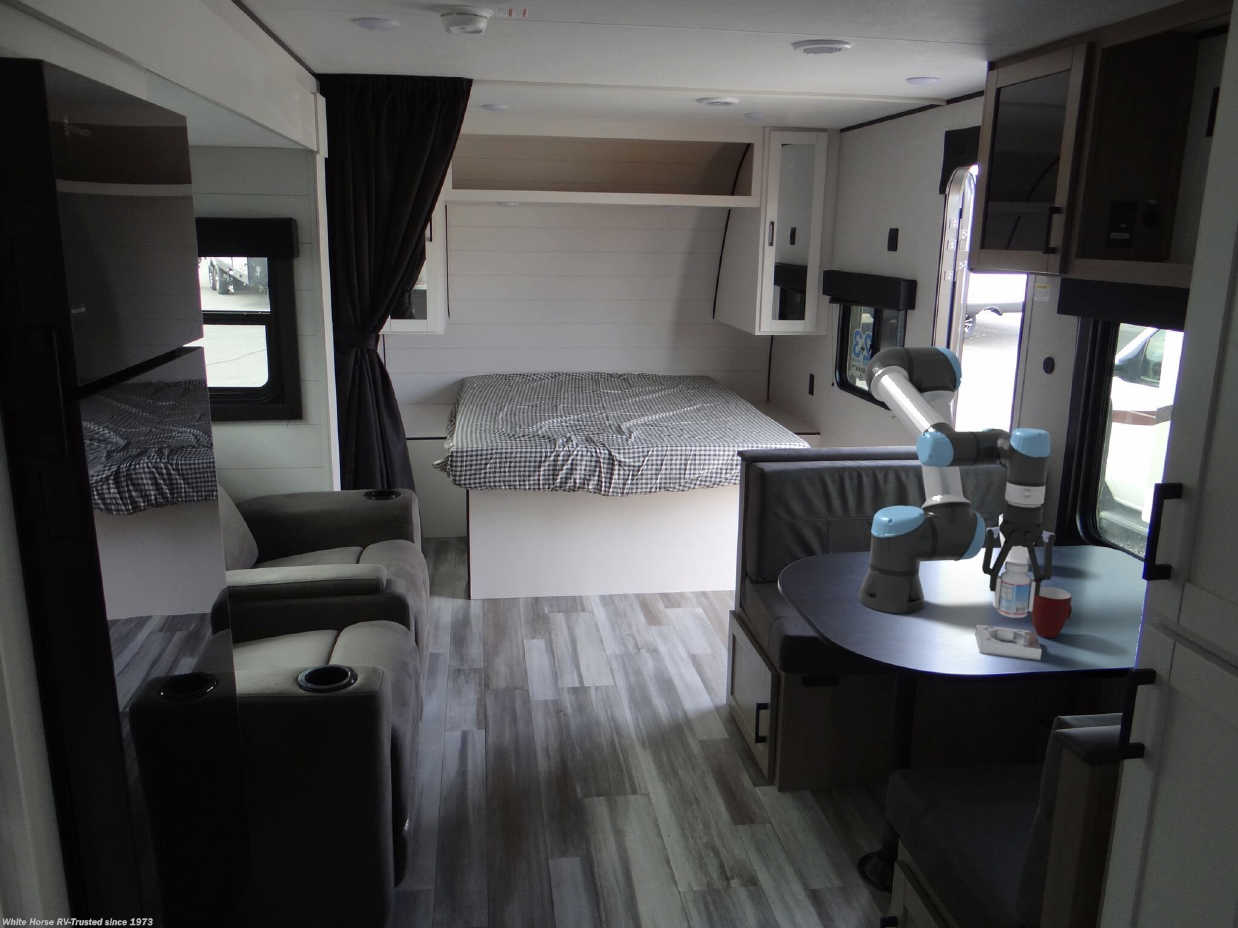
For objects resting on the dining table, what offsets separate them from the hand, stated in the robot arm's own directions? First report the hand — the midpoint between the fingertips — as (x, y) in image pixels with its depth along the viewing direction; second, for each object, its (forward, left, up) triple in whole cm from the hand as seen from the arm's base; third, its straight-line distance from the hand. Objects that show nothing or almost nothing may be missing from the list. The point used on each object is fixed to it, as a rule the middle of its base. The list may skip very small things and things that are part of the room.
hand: (1012, 607), depth 198 cm
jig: (0, 0, -9) cm, 9 cm away
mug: (+10, +11, -9) cm, 18 cm away
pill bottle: (0, 0, -2) cm, 2 cm away
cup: (+9, +60, -9) cm, 62 cm away
